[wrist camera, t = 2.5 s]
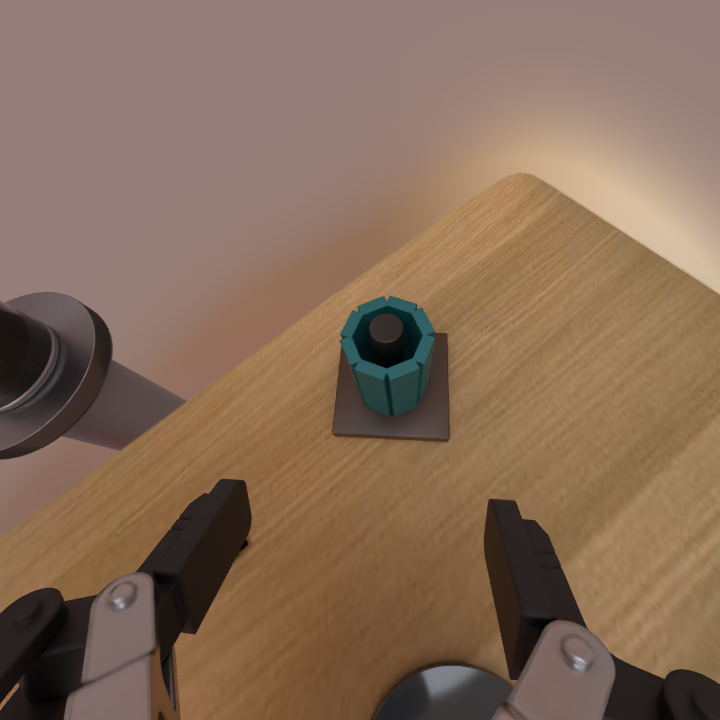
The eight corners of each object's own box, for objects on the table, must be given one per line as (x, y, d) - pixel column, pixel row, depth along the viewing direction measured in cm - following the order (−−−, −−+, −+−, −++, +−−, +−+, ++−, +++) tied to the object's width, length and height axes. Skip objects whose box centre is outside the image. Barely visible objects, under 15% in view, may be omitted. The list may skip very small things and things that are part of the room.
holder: (334, 436, 30) (301, 397, 20) (344, 336, 33) (320, 266, 24) (448, 441, 28) (467, 403, 19) (446, 338, 32) (461, 265, 23)
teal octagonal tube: (346, 399, 30) (326, 359, 22) (374, 341, 31) (364, 287, 24) (411, 425, 28) (413, 391, 21) (436, 363, 30) (445, 312, 23)
